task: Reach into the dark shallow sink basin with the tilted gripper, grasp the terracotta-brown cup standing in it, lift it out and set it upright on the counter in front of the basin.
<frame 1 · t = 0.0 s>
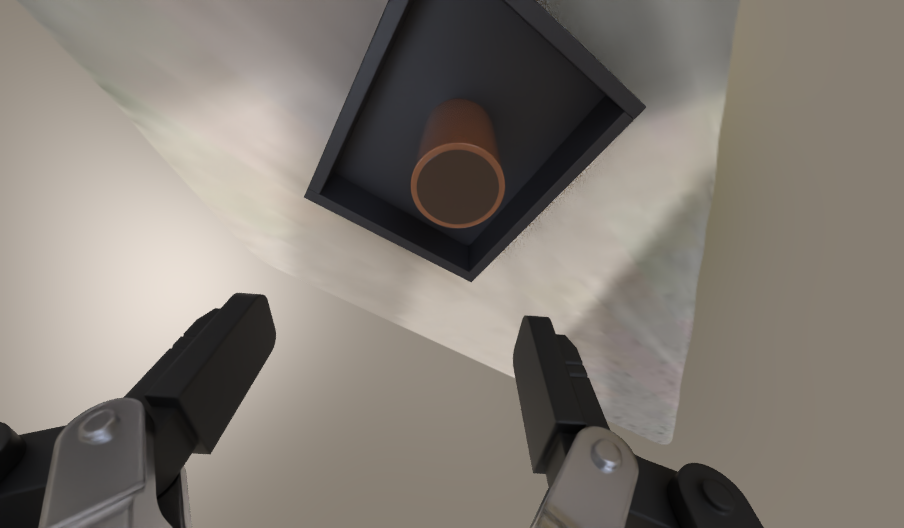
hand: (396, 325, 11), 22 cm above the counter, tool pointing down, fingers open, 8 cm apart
brown cup: (458, 136, 28), point 1 cm above the counter, touching sink
sink: (458, 132, 29), on the counter
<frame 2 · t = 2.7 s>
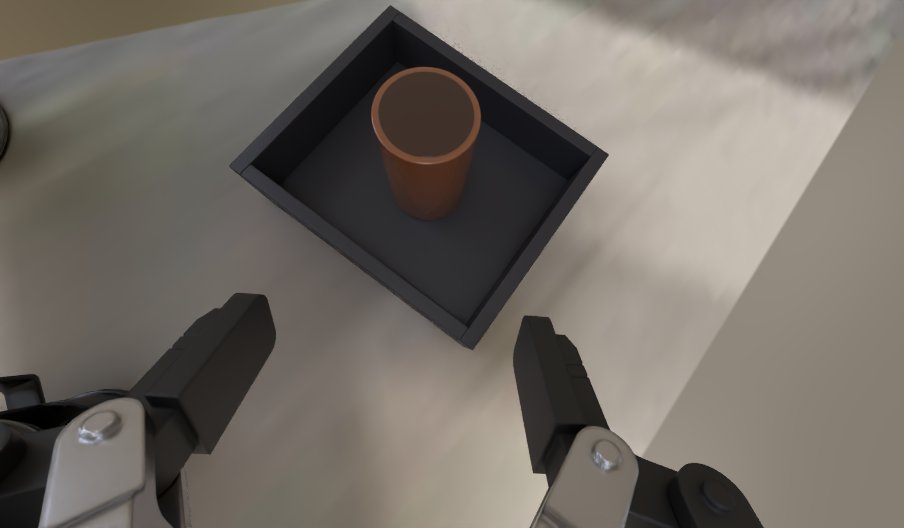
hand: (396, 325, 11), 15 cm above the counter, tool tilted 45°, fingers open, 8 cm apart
brown cup: (427, 184, 27), point 1 cm above the counter, touching sink
french press: (98, 453, 23), on the counter
sink: (427, 189, 28), on the counter
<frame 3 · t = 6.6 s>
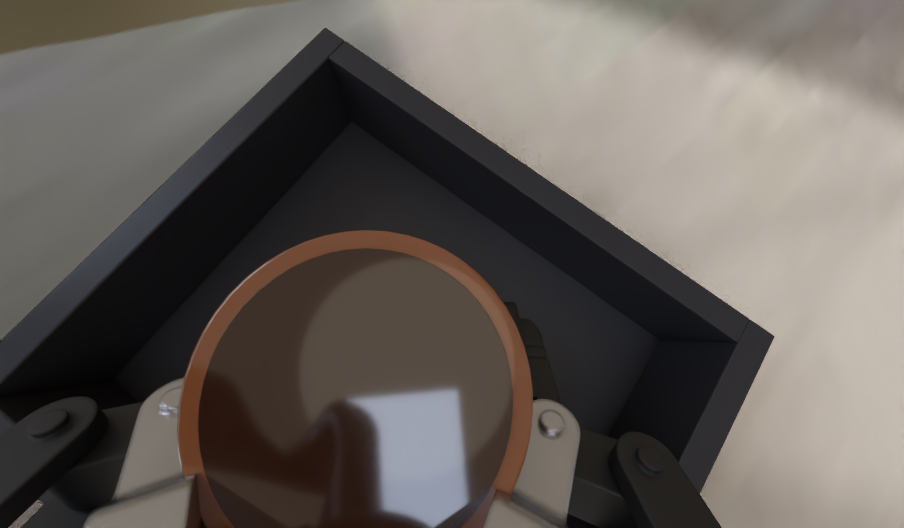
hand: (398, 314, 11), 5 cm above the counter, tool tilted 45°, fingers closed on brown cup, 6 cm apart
brown cup: (403, 359, 14), point 1 cm above the counter, touching gripper, sink
sink: (404, 357, 15), on the counter
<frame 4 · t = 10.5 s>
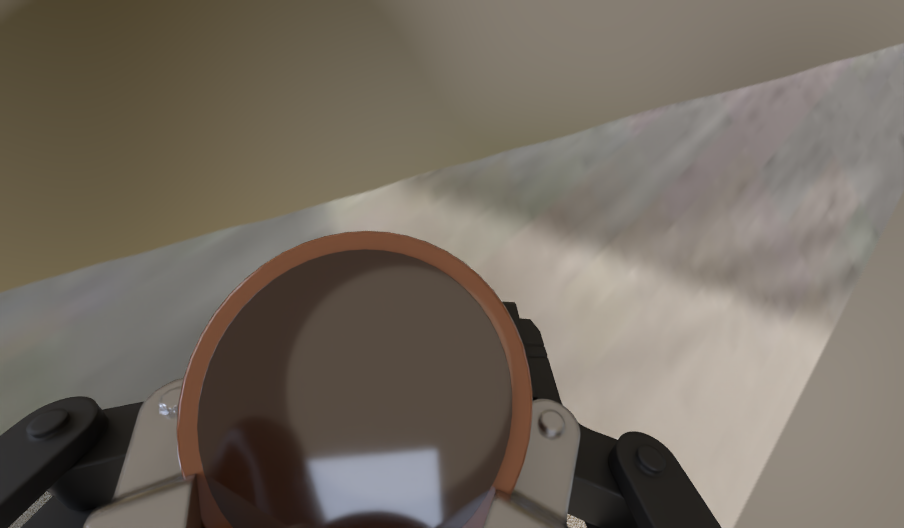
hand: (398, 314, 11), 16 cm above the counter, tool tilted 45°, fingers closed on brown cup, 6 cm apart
brown cup: (402, 359, 14), point 12 cm above the counter, touching gripper
when the fingers open (4 cm above the counter, at t = 14.5 s): brown cup stays where it is, on the counter.
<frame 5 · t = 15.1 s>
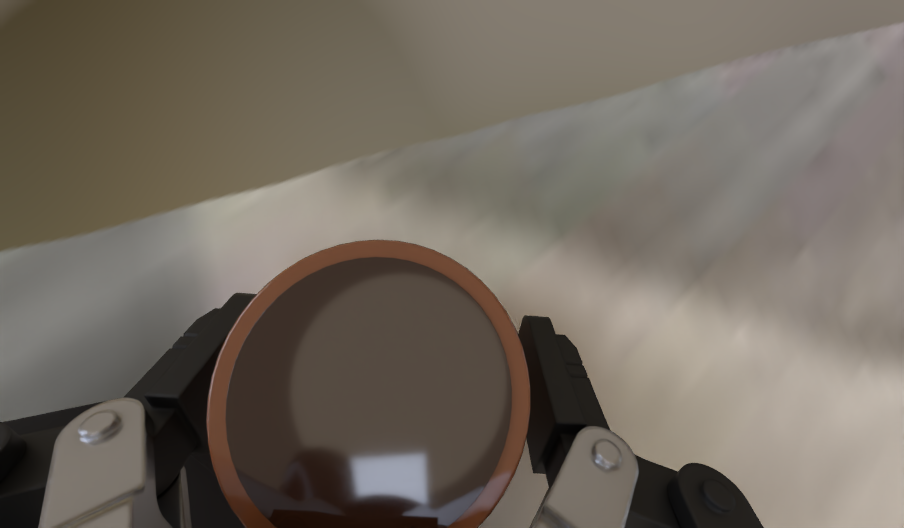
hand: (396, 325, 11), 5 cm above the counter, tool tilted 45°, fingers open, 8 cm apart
brown cup: (407, 358, 15), on the counter
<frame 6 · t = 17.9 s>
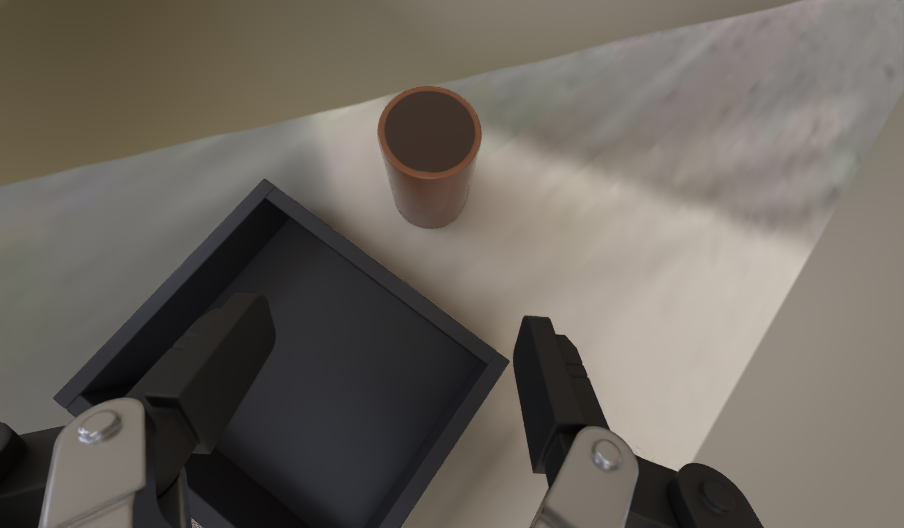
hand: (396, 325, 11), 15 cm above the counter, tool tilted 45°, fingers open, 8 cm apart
brown cup: (430, 194, 28), on the counter
sink: (319, 370, 25), on the counter
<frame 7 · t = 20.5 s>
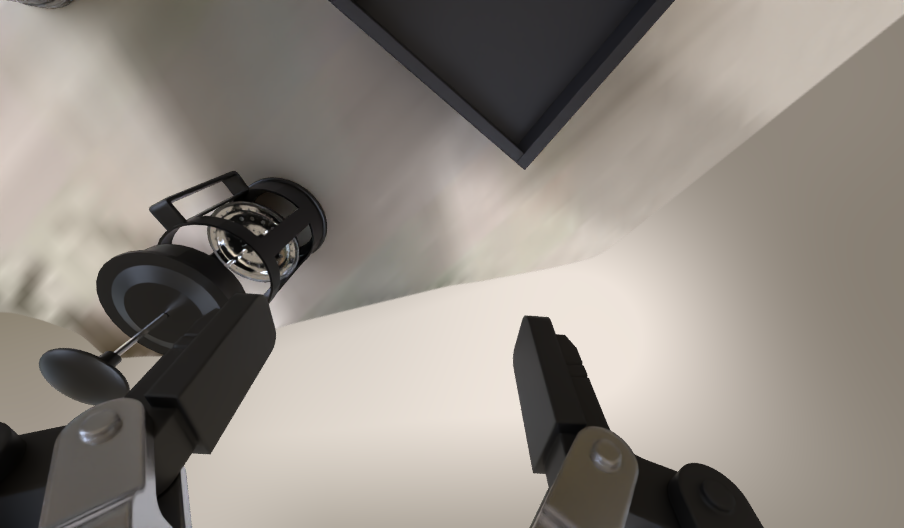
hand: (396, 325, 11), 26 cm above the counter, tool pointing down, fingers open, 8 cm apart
french press: (282, 214, 37), on the counter
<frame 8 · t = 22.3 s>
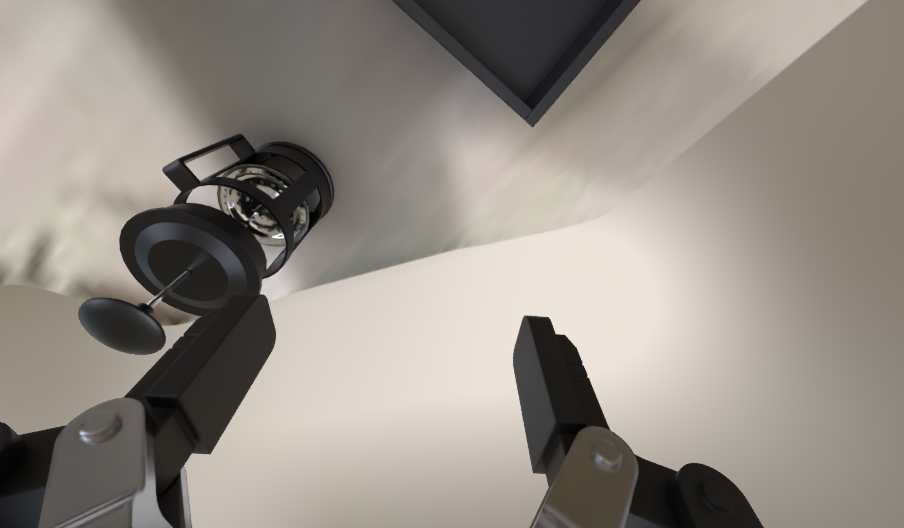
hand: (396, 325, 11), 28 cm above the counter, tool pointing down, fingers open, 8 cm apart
french press: (289, 180, 37), on the counter
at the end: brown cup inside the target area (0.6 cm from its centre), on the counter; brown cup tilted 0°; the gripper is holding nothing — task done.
